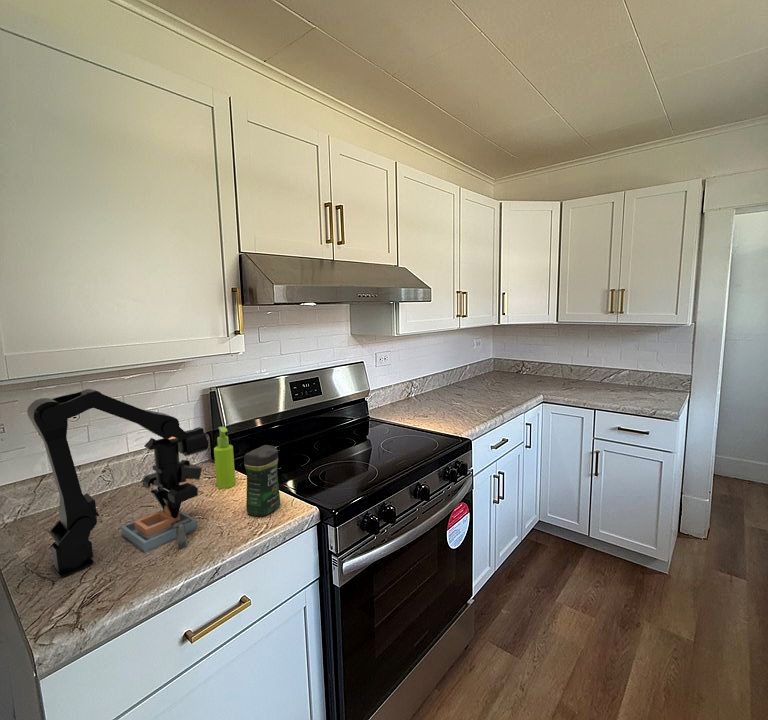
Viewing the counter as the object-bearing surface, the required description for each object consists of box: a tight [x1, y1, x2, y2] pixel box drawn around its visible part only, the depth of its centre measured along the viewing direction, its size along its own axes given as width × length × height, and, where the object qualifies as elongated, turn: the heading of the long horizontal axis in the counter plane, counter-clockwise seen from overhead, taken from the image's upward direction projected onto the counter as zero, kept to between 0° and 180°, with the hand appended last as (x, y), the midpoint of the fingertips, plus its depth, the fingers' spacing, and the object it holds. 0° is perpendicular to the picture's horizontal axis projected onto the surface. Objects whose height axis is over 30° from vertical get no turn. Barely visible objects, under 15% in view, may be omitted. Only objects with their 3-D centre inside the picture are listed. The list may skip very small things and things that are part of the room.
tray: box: [120, 509, 199, 553], centre depth 112 cm, size 13×13×2 cm
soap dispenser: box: [213, 426, 236, 490], centre depth 139 cm, size 6×7×20 cm
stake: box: [171, 517, 189, 549], centre depth 104 cm, size 4×2×7 cm, turn 143°
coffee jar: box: [243, 444, 281, 517], centre depth 122 cm, size 10×8×19 cm
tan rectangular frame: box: [133, 505, 180, 537], centre depth 111 cm, size 10×7×4 cm
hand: (172, 516), depth 114 cm, fingers closed on tan rectangular frame, 3 cm apart
